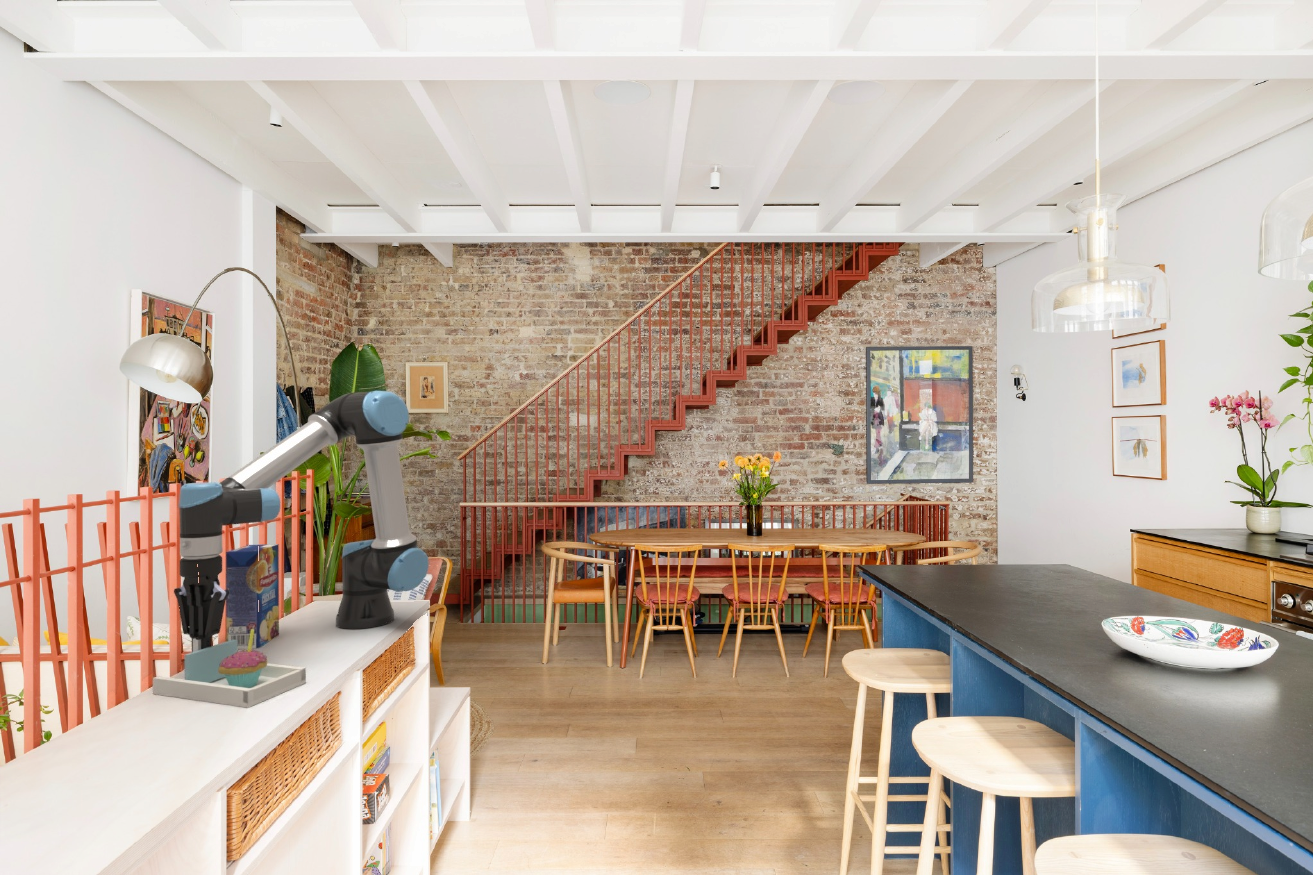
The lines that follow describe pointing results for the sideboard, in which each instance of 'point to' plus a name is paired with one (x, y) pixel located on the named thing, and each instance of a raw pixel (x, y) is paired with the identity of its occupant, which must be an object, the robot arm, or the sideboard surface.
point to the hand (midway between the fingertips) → (201, 668)
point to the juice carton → (252, 594)
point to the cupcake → (243, 666)
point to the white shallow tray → (234, 687)
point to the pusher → (208, 662)
